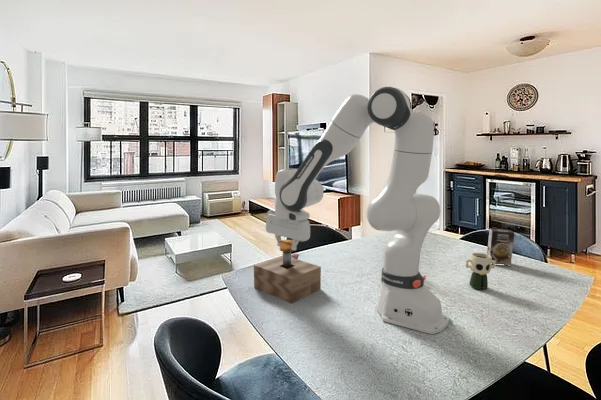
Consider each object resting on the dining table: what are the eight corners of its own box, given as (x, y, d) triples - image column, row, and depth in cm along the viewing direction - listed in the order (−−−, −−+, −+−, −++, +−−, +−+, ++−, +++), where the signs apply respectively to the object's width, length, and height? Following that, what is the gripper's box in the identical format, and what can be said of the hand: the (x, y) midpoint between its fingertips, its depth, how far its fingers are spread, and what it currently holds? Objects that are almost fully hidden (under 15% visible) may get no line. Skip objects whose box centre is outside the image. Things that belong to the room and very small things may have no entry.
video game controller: (290, 273, 150) (297, 260, 149) (281, 268, 150) (288, 255, 149) (295, 265, 160) (301, 253, 158) (286, 261, 160) (293, 248, 159)
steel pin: (297, 270, 130) (297, 241, 128) (287, 274, 126) (287, 244, 124) (286, 267, 134) (286, 238, 132) (276, 271, 130) (276, 241, 128)
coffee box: (488, 264, 157) (492, 231, 155) (485, 260, 164) (488, 227, 161) (511, 267, 155) (515, 232, 152) (507, 262, 161) (510, 229, 158)
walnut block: (320, 289, 130) (320, 266, 128) (291, 303, 118) (291, 278, 117) (283, 275, 143) (283, 255, 142) (254, 287, 131) (253, 264, 130)
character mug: (467, 290, 129) (470, 258, 127) (460, 283, 136) (462, 252, 134) (497, 291, 128) (500, 258, 126) (488, 284, 135) (491, 252, 133)
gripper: (261, 209, 130) (262, 244, 133) (301, 217, 117) (301, 256, 119) (273, 207, 135) (273, 240, 137) (313, 214, 121) (312, 251, 124)
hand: (286, 248), depth 128 cm, fingers closed on steel pin, 6 cm apart
